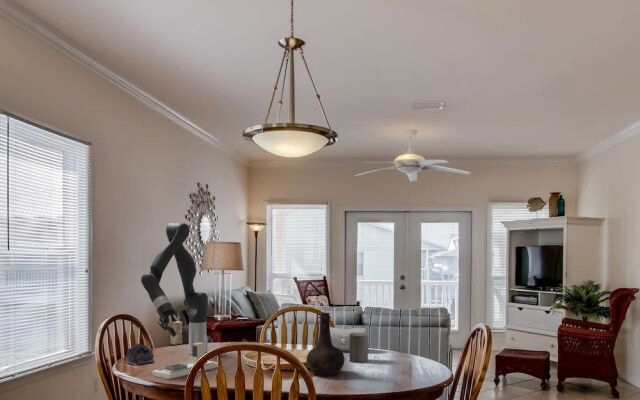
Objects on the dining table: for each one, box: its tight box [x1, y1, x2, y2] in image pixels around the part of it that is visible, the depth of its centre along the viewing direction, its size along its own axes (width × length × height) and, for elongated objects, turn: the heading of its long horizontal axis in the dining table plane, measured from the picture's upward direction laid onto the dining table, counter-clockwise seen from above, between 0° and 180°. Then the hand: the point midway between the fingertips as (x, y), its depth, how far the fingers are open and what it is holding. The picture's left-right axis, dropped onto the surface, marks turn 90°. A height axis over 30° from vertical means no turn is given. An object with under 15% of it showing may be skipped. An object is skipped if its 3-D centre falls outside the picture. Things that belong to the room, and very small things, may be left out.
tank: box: [330, 327, 370, 353], centre depth 321 cm, size 25×16×12 cm, turn 81°
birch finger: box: [169, 321, 183, 345], centre depth 271 cm, size 4×4×10 cm
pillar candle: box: [348, 331, 369, 364], centre depth 296 cm, size 10×10×15 cm
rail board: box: [152, 342, 218, 380], centre depth 275 cm, size 30×12×12 cm, turn 142°
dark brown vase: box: [306, 312, 345, 376], centre depth 270 cm, size 18×18×28 cm
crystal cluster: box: [126, 343, 155, 366], centre depth 295 cm, size 13×14×10 cm
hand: (179, 335), depth 270 cm, fingers closed on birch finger, 4 cm apart
